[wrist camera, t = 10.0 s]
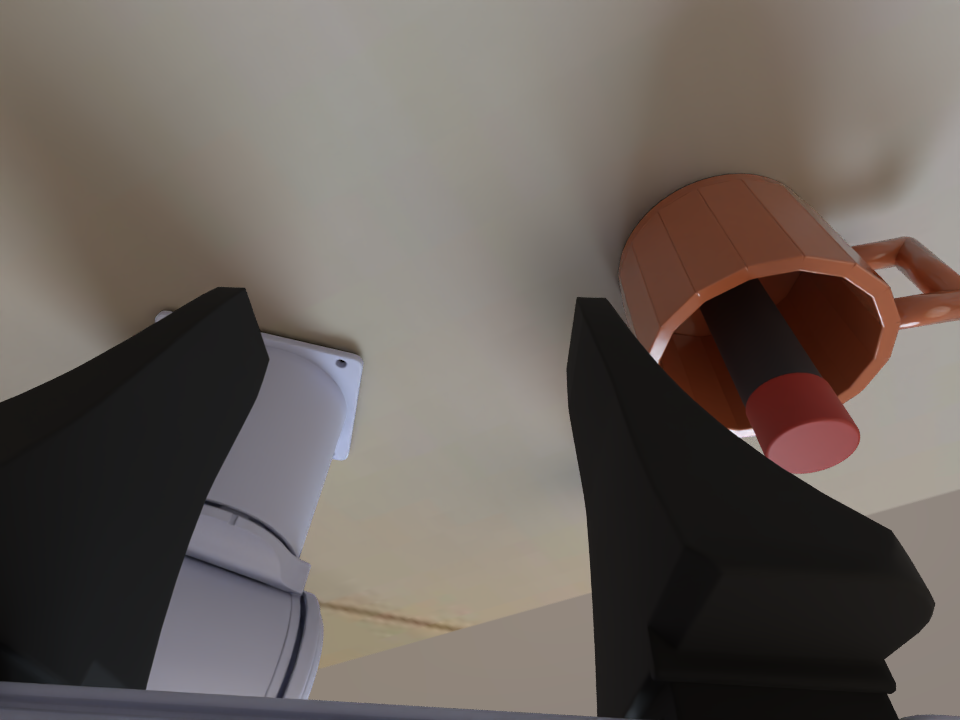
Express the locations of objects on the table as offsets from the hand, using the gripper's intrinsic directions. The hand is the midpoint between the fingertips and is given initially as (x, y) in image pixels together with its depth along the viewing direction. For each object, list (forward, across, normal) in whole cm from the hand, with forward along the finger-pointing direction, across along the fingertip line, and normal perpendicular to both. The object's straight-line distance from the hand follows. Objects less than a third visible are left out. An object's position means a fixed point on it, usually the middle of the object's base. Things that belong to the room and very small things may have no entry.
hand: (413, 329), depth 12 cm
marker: (+9, -10, +4) cm, 14 cm away
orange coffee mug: (+10, -12, +3) cm, 16 cm away
